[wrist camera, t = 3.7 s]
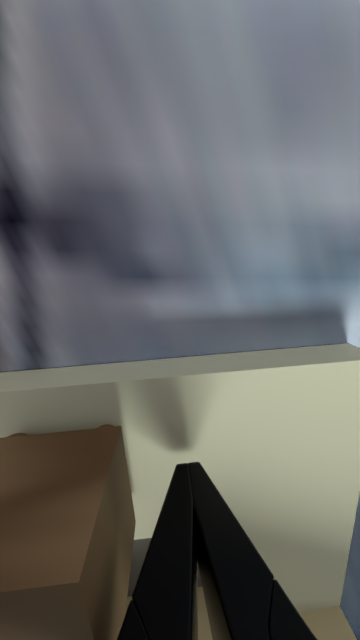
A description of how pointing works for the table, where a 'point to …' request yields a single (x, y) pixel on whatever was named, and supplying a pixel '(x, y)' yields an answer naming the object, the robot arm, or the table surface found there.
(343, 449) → the trap tray
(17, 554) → the walnut block
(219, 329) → the table surface
